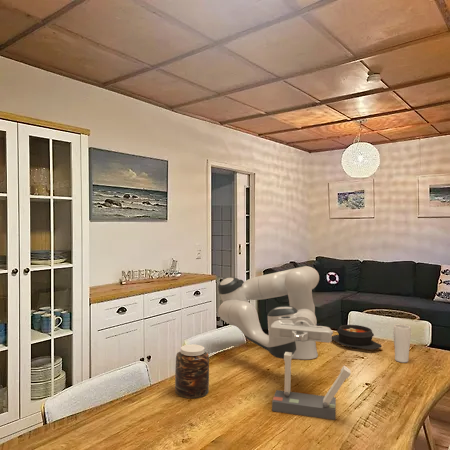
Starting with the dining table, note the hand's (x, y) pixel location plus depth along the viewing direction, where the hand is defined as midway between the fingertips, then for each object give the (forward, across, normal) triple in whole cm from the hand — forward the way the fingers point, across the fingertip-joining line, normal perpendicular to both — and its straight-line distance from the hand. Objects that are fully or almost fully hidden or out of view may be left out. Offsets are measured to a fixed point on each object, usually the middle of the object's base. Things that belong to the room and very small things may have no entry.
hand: (298, 338), depth 128 cm
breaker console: (+1, -2, -22) cm, 22 cm away
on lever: (+3, -9, -18) cm, 20 cm away
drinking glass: (-58, -39, -22) cm, 73 cm away
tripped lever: (-1, +3, -18) cm, 18 cm away
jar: (-1, +36, -22) cm, 42 cm away
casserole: (-75, -20, -22) cm, 81 cm away
